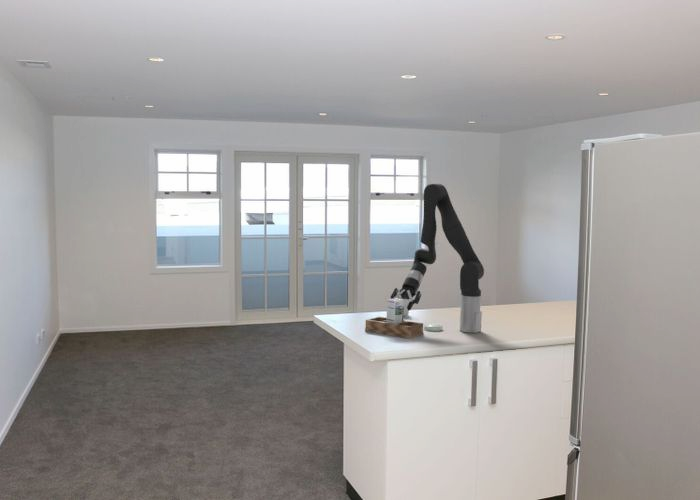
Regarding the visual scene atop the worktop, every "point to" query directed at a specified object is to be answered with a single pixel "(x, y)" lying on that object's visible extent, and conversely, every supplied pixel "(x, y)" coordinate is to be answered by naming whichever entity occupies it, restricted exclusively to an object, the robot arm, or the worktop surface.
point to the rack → (394, 327)
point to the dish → (433, 327)
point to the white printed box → (405, 306)
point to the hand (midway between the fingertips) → (400, 308)
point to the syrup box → (395, 311)
